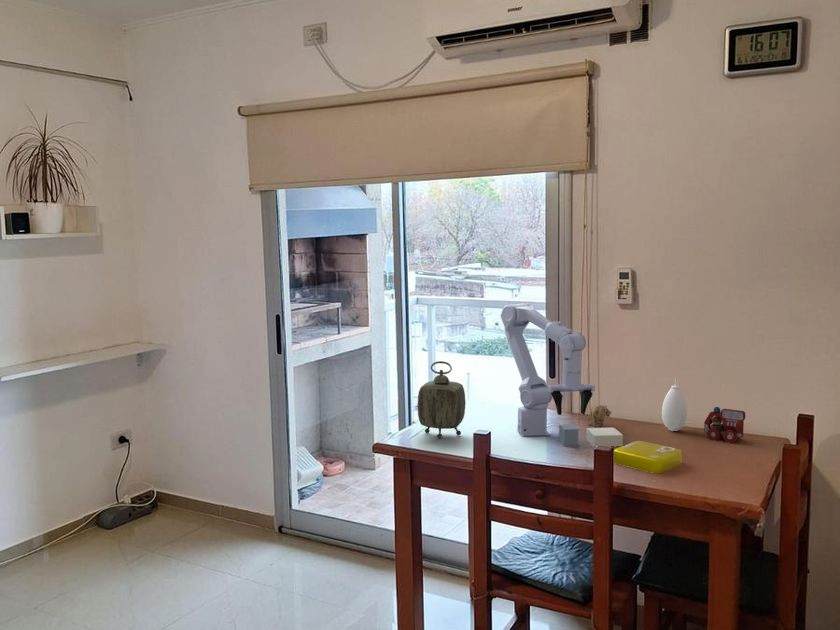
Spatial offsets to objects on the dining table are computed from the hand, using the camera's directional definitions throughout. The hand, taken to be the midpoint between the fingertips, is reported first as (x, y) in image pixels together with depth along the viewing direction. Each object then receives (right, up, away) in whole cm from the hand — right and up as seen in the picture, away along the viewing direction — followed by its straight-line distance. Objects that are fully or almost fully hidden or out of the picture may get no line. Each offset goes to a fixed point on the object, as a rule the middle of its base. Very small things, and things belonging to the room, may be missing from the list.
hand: (571, 413), depth 230 cm
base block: (+11, -10, +1) cm, 15 cm away
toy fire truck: (+51, -9, +5) cm, 52 cm away
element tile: (+18, -12, -19) cm, 29 cm away
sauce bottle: (+38, -8, +15) cm, 42 cm away
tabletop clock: (-41, -9, +9) cm, 43 cm away
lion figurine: (+13, -8, +20) cm, 25 cm away
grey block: (-1, -10, +1) cm, 10 cm away
